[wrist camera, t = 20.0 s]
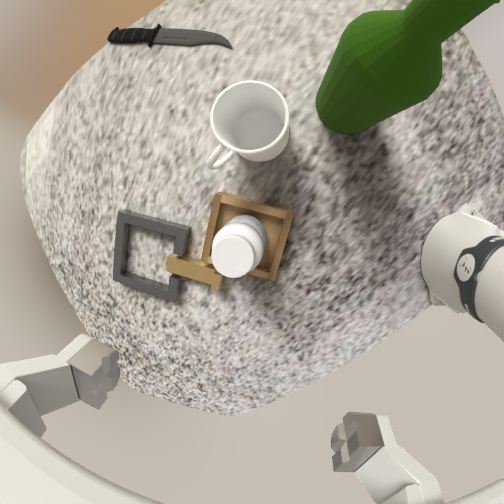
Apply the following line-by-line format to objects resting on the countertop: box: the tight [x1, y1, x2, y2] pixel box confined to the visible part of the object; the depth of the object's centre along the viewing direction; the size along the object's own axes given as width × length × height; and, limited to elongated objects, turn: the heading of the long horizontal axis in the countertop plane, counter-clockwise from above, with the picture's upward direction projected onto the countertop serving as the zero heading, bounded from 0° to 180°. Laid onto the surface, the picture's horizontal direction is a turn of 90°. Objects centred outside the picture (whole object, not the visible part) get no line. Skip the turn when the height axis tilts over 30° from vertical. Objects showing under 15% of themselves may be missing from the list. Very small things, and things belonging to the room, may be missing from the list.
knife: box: [108, 24, 232, 48], centre depth 32 cm, size 25×2×5 cm
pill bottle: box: [211, 215, 267, 278], centre depth 34 cm, size 6×6×11 cm
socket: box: [113, 210, 191, 302], centre depth 42 cm, size 12×12×2 cm
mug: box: [207, 81, 289, 170], centre depth 31 cm, size 12×8×12 cm
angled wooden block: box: [167, 253, 224, 291], centre depth 41 cm, size 9×3×3 cm, turn 76°
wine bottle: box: [316, 0, 500, 134], centre depth 18 cm, size 9×9×32 cm
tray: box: [201, 192, 294, 281], centre depth 39 cm, size 11×10×3 cm
